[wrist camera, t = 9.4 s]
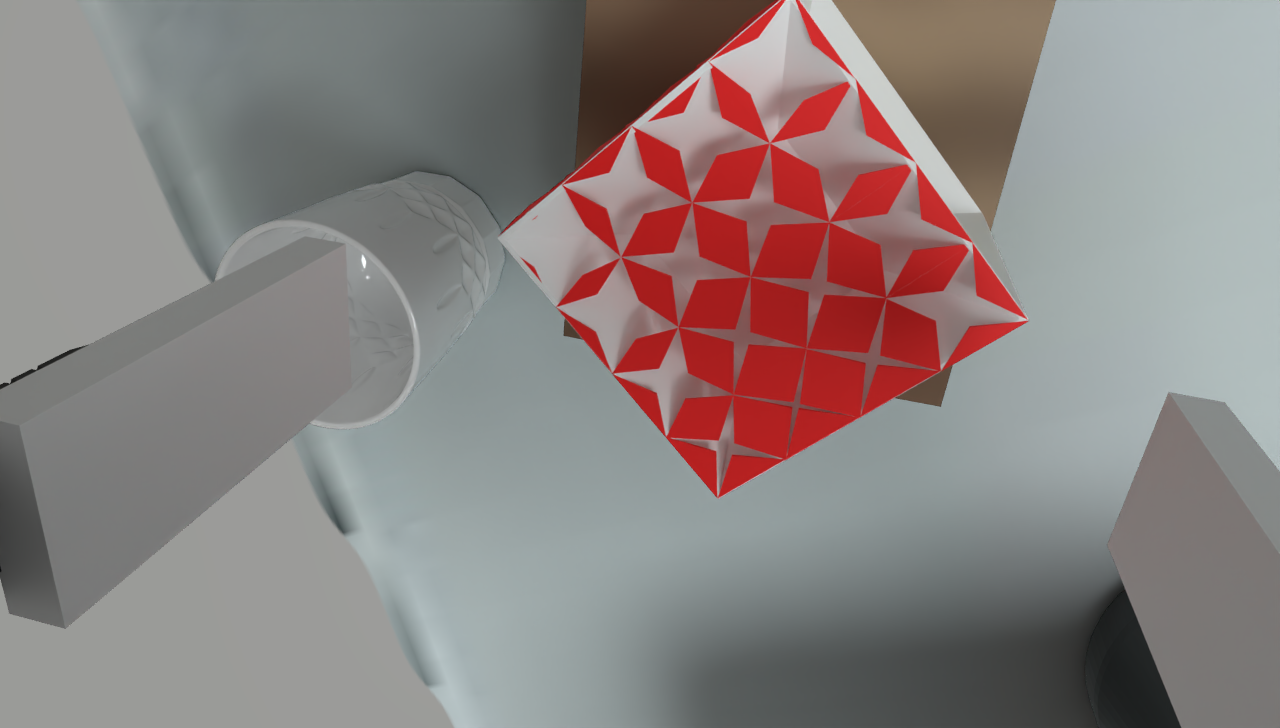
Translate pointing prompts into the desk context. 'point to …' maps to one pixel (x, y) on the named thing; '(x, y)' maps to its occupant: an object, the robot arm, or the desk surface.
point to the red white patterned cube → (769, 249)
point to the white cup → (394, 279)
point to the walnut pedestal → (892, 34)
